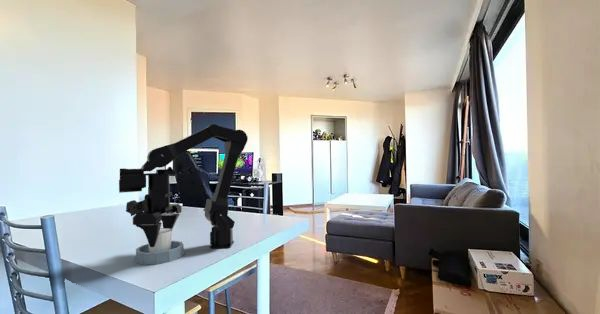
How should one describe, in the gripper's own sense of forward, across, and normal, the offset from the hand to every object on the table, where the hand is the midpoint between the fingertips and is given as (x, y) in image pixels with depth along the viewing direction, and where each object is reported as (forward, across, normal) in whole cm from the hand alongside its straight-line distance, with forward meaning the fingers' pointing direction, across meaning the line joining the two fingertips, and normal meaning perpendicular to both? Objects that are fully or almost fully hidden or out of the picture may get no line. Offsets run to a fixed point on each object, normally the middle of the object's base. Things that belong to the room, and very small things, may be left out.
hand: (160, 242), depth 87 cm
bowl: (+4, 0, 0) cm, 4 cm away
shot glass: (+4, 0, 0) cm, 4 cm away
